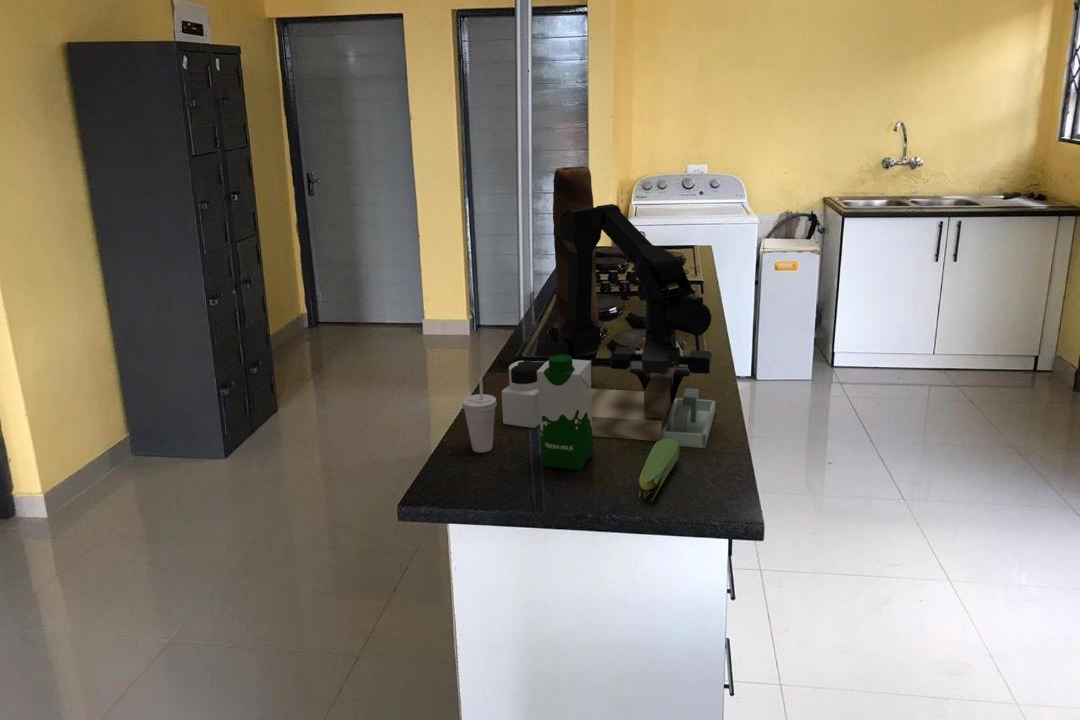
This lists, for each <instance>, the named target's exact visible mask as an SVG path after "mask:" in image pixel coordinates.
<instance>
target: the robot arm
mask: <svg viewBox="0 0 1080 720" xmlns="http://www.w3.org/2000/svg"><path fill="white" fill-rule="evenodd" d="M621 211H622V210H621V208H620V207H619V205H618V204H613V203H611V204H610V203H609V204H603V205H597V206H595V207H594V206H593V207H587V208H580V209H573V210H567V211H565V212H564V214H563V215H561V218H560V229H561V239H562V241H563V242H564V244H565V246H566V247H567V249H568V251H569V272H568V318H567V319H566V321H565V323H564V325H563V326H562V328H561V330H560V338H559V343H557V344H556V346H555V347H554V348H553V349H552V350H551V352H550V357H551V356H553V355H560V354H563V355H569V356H571V357H572V359H574V360H589V361H594V360H596V359H597V355H598V351H599V348H600V346H601V345H602V343H601V332H602V329H601V327H600V326H599V327H597V326H596V325H595V323H594V322H593V320H592V318H591V308H592V265H593V251H594V249H595V248H596V247H597V246H598V243H599V242H600V240H601V237H602V231H603V232H604V234H605V235H606V236H607V237H608V238H609V239H610V240H611V241H612V242H613V244H615V245H616V246H617V247H618V249H619V250H620V251H621V252H622V253H623V254H624V255H625V256H626V257H627V258H628V260H629V261H630V262H631V263H632V265H633V271H634V272H633V273H634V275H635V276H636V278H637V280H638V282H640V284H641V285H642V288H644V289H643V290H642V291H640V292H639V293H638V295H637V297H638V298H640V299H643V300H645V340H644V341H645V344H644V346H643V353H642V354H641V353H636V350H635V348H632V347H629V346H627V347H626V346H617V347H616V348H615V349H614V350H613V351H612V353H611V355H610V357H609V366H610V367H609V368H610V369H611V370H612V369H613V370H627V369H628V368H630V369H629V373H630V374H634V375H635V376H636V377H637V378H638V380H639V382H640V383H641V386H642V388H643V392H644V391H645V389H646V387H647V385H648V383H649V381H650V379H651V374H653V373H659V374H667V373H668V372H669V367H674V366H675V368H676V369H675V371H674V374H673V385H672V392H671V404H673V403H674V400H675V398H677V394H678V390H679V387H680V385H681V383H682V381H683V379H684V377H689V376H690V375H691V373H692V374H700V375H701V374H703V375H706V374H710V372H711V370H712V367H713V354H712V352H711V351H710V350H694V349H692V350H691V351H690V354H689V355H683V356H682V355H681V354H680V348H681V347H680V348H679V347H676V341H677V331H678V332H682V333H686V334H689V335H692V336H695V337H696V336H697V337H700V336H702V335H703V334H705V332H707V331H708V330H709V327H710V325H711V323H712V313H711V311H710V308H709V307H708V306H707V305H706V304H704V298H703V297H702V296H697V295H695V296H694V294H695V292H694V290H693V287H692V283H691V281H690V280H689V278H688V276H687V274H686V272H685V270H684V268H683V265H682V261H680V259H679V258H678V257H677V256H675V255H674V254H673V253H671V252H669V251H668V250H666V249H663V248H661V247H657V246H655V245H653V243H651V242H650V241H649V240H648V238H646V236H644V235H643V233H641V231H639V229H638V228H637V227H635V225H634V224H633V223H632V222H631V221H630V220H629V219H628V218H627V217H626V216H625V215H624V214H623V213H622V212H621ZM669 288H670V289H669ZM593 384H594V383H593V366H592V365H591V386H592V385H593Z"/></svg>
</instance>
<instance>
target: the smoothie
mask: <svg viewBox="0 0 1080 720" xmlns="http://www.w3.org/2000/svg"><path fill="white" fill-rule="evenodd" d="M478 382H479V394H472V395H468V396H466V397H464V398H463V399H462V400H461V403H462V404H461V407H462V409H464V410H463V411H464V414H465V420H466V423H467V429H468V435H469V439H470V443H471V449H472V451H473V452H474V453H486V452H489V451H491V450H492V449H493V441H494V430H495V429H494V426H495V412H496V411H495V410H496V406H497V398H496V396H494V395H491V394H487V393H486V394H485V393H484V388H483V387H484V385H483V384H484V383H483V377H479V378H478Z"/></svg>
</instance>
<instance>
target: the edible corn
mask: <svg viewBox="0 0 1080 720" xmlns="http://www.w3.org/2000/svg"><path fill="white" fill-rule="evenodd" d="M680 448H681V446H680V445H679V444H678V443H677V442H676V441H675V440H673V439H670V438H669V439H662V440H660V441H655V443H654V445H653V446H652V448H651V450H650V453H649V454H648V457H647V458H646V461H645V463H644V466H643V468H642V471H641V473H640V476H639V480H638V482H639V487H638V488H639V489H638V496H639V497H638V498H641V497H640V496H643V498H644V497H646V495H647V494H648V492H649V493H651V491H653V492H652V493H651V496H652V497H651V496H650V499H649V500H648V502H650V500H651V502H653V501H654V499H655V497H656V495H657V494H658V492H659V490H660V488H661V487H662V485H663V484H664V482H665V480H666V479H667V477H668V475H669V473H670V472H671V471H672V469H673V468H674V466H675V464H676V463H677V461H678V459H679V455H680ZM641 494H642V495H641Z"/></svg>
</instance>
